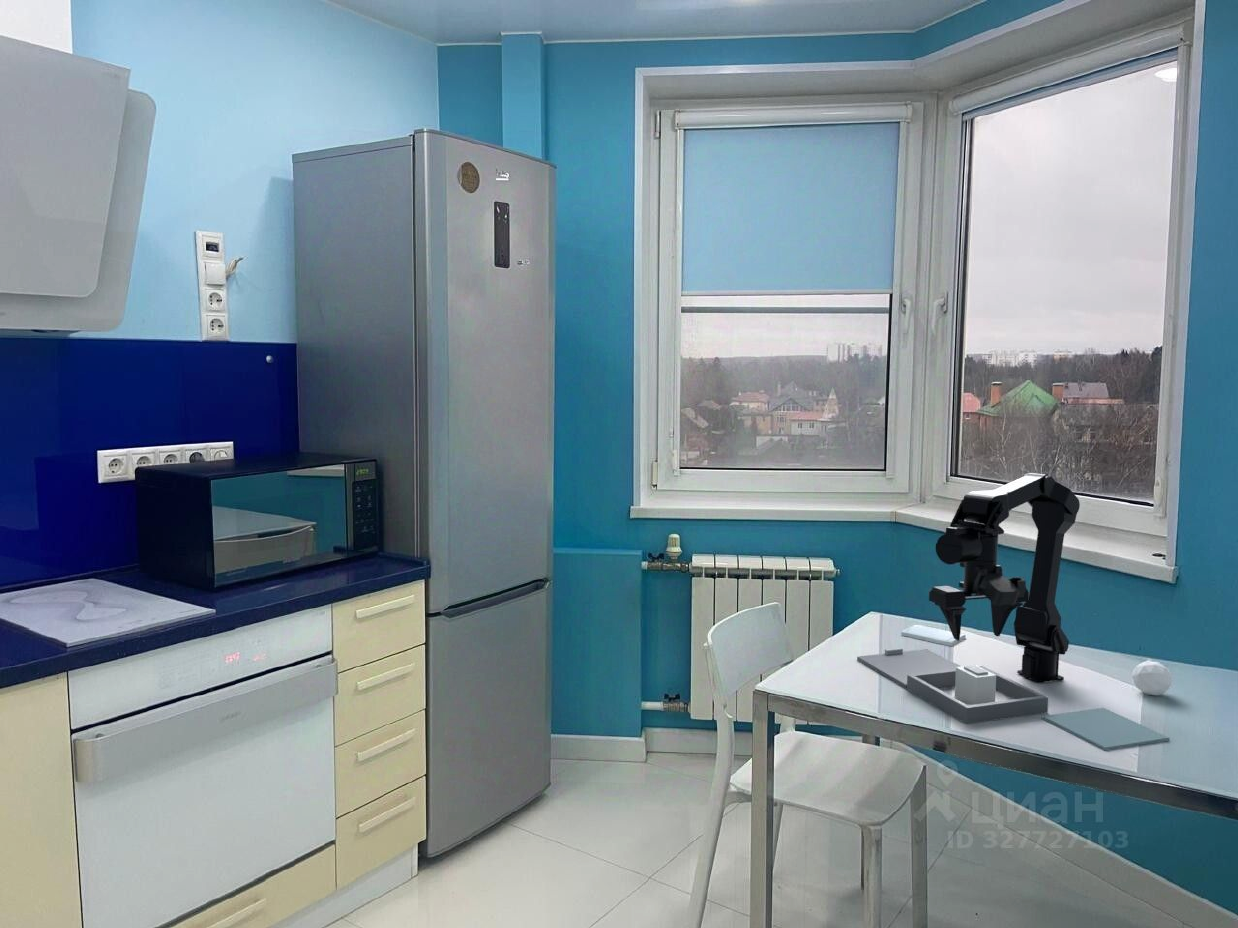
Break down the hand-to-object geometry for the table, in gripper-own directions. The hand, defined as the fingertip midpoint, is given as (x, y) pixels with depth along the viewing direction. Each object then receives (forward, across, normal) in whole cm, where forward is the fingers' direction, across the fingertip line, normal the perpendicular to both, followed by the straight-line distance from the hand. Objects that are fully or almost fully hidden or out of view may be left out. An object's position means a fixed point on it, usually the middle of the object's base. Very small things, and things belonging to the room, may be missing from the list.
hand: (976, 637), depth 165 cm
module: (+13, 0, 0) cm, 13 cm away
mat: (+12, +13, -18) cm, 26 cm away
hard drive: (+13, +18, +37) cm, 43 cm away
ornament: (+12, +36, -7) cm, 39 cm away
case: (+13, 0, +9) cm, 16 cm away
